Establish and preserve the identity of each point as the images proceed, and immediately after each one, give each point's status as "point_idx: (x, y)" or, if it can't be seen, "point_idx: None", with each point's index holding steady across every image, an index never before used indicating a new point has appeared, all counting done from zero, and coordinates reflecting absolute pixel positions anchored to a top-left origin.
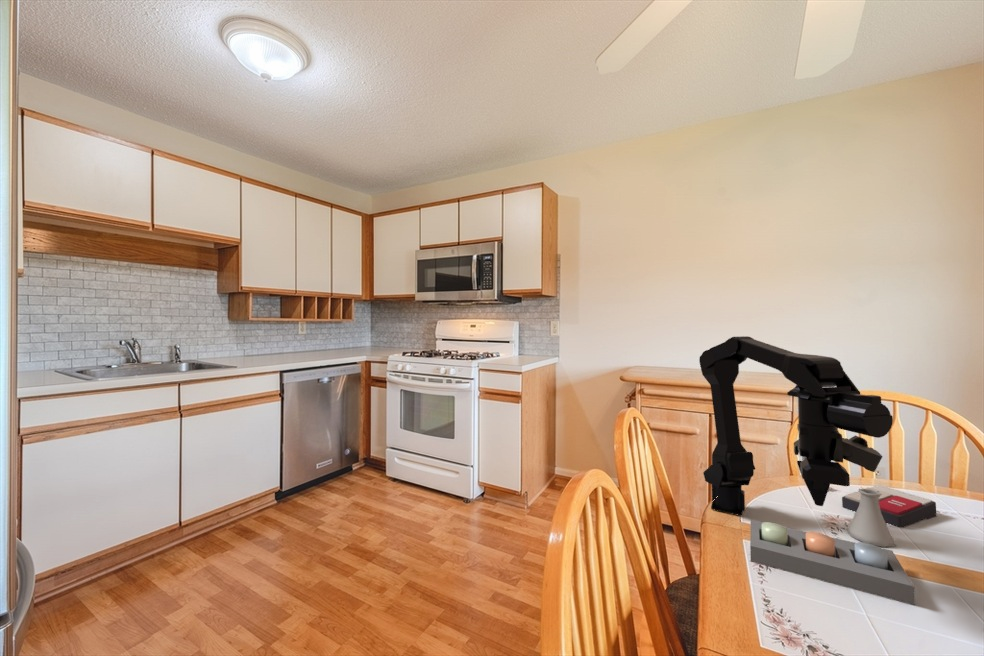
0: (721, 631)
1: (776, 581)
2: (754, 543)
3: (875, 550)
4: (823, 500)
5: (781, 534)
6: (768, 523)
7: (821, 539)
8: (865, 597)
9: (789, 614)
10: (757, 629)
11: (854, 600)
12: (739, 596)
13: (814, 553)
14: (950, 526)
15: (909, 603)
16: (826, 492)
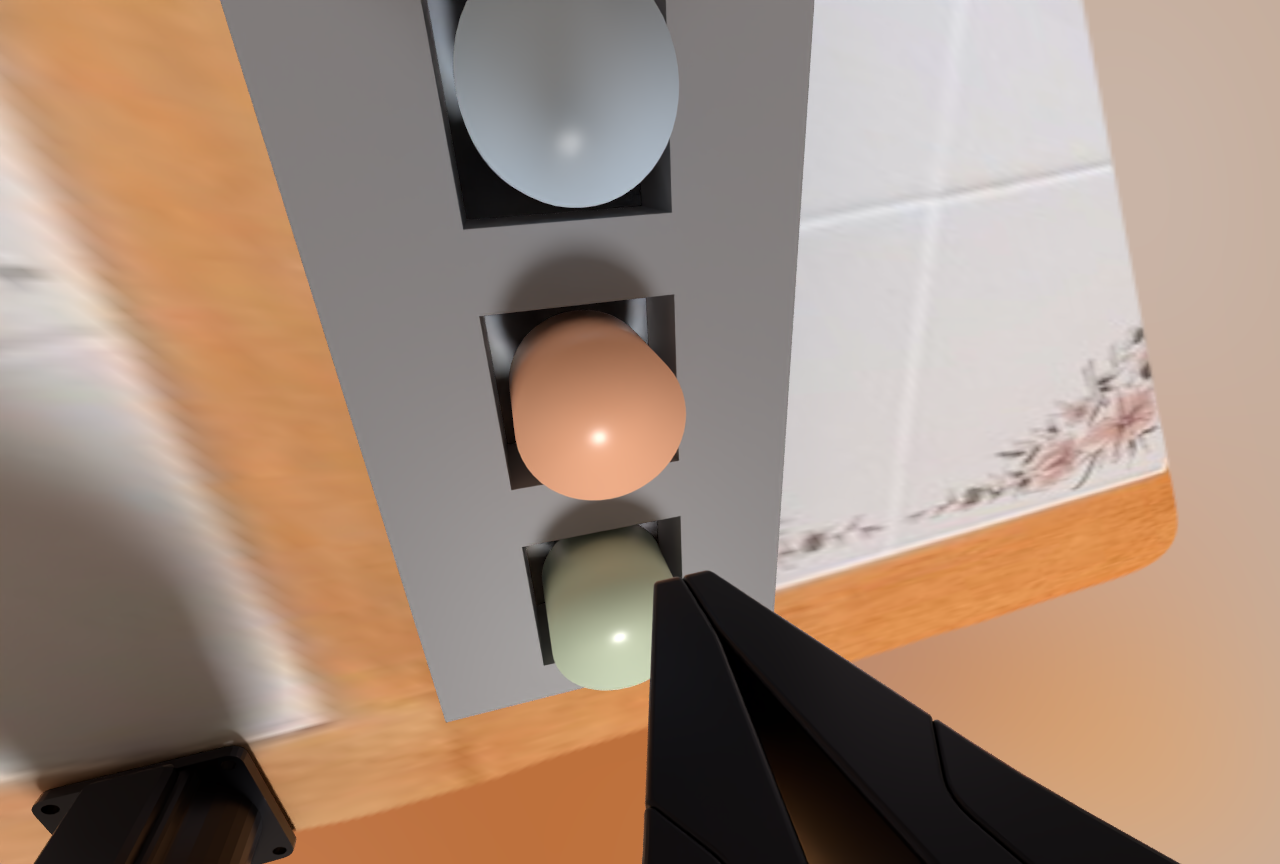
0: (1132, 547)
1: (844, 492)
2: None
3: (580, 48)
4: (769, 620)
5: None
6: (581, 670)
7: (629, 415)
8: (802, 179)
9: (1023, 432)
10: (1108, 488)
11: (851, 230)
12: (979, 556)
13: (689, 417)
14: None
15: None
16: (917, 712)
